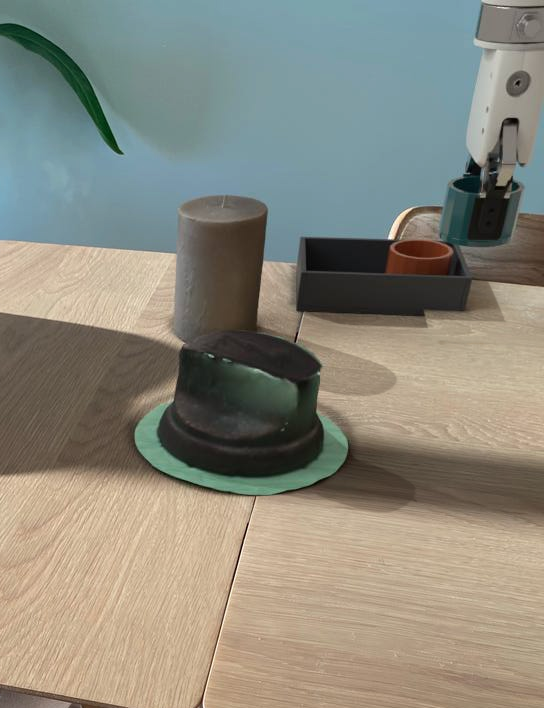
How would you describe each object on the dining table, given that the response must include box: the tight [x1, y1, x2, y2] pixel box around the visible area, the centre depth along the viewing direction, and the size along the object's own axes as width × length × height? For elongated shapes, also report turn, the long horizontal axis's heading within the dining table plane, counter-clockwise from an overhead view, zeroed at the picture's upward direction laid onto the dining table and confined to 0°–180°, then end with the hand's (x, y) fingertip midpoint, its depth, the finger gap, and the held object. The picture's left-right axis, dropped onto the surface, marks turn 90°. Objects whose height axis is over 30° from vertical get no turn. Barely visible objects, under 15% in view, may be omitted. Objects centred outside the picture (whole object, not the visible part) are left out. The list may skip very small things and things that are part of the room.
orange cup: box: [385, 238, 453, 276], centre depth 118 cm, size 7×7×5 cm
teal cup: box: [438, 175, 526, 248], centre depth 99 cm, size 7×7×5 cm
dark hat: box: [134, 330, 349, 496], centre depth 91 cm, size 15×19×20 cm
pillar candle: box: [173, 194, 269, 343], centre depth 108 cm, size 10×10×15 cm
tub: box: [295, 236, 473, 317], centre depth 119 cm, size 19×13×5 cm
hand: (477, 225), depth 100 cm, fingers closed on teal cup, 7 cm apart
